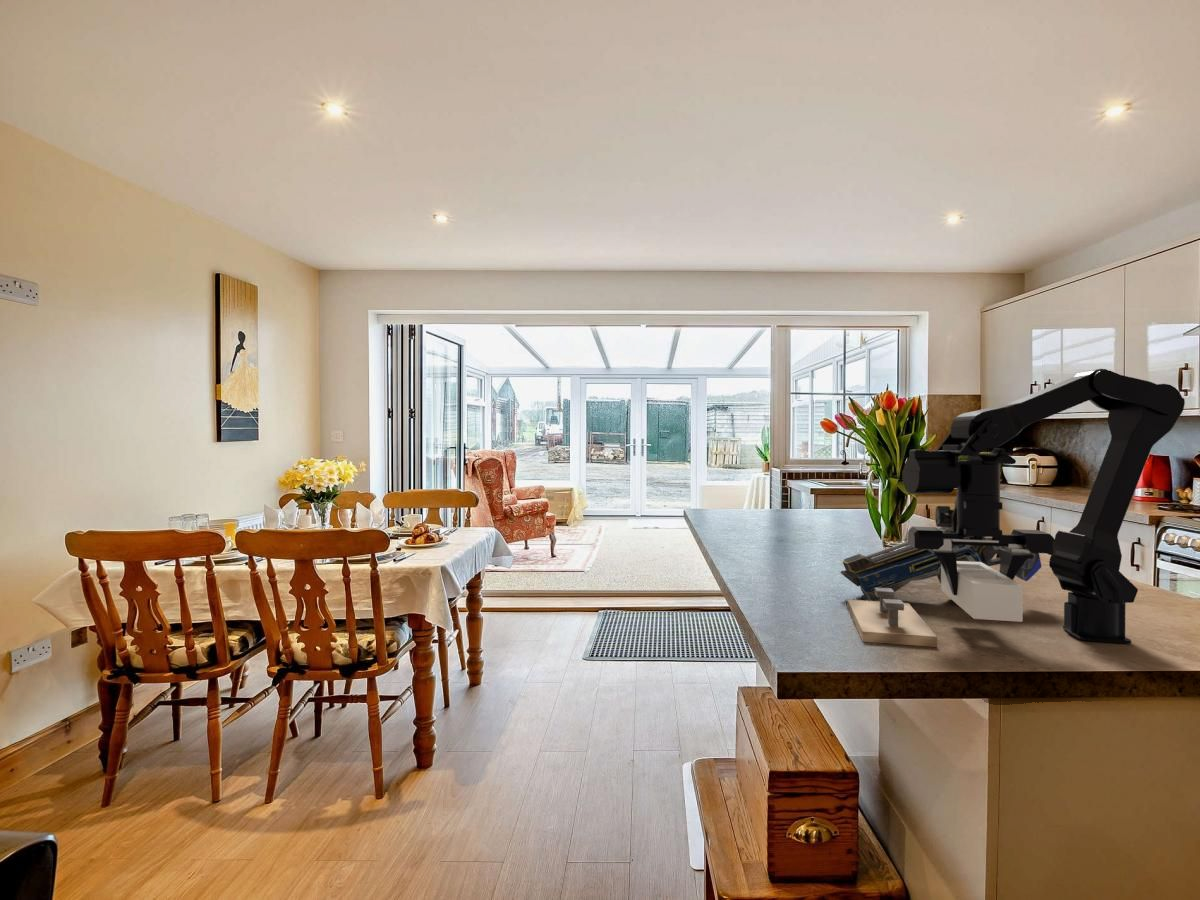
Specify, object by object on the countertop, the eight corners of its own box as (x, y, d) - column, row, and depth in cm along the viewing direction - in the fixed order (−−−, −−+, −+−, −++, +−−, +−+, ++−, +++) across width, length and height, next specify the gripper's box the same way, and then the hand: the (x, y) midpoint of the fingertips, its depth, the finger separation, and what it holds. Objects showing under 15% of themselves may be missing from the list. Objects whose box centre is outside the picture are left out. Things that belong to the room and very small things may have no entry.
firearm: (1057, 580, 110) (1021, 500, 111) (870, 640, 117) (838, 564, 118) (1036, 571, 118) (1002, 496, 119) (862, 628, 125) (831, 556, 126)
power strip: (940, 590, 107) (940, 560, 107) (981, 592, 105) (981, 562, 105) (973, 618, 89) (973, 583, 89) (1022, 621, 88) (1022, 585, 88)
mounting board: (908, 611, 111) (908, 582, 111) (936, 646, 92) (936, 611, 92) (847, 607, 114) (847, 579, 114) (862, 641, 95) (862, 607, 94)
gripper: (1027, 491, 102) (1026, 587, 102) (901, 489, 107) (901, 581, 107) (1057, 496, 92) (1056, 604, 92) (915, 494, 96) (915, 597, 97)
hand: (977, 595), depth 97 cm, fingers closed on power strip, 6 cm apart
